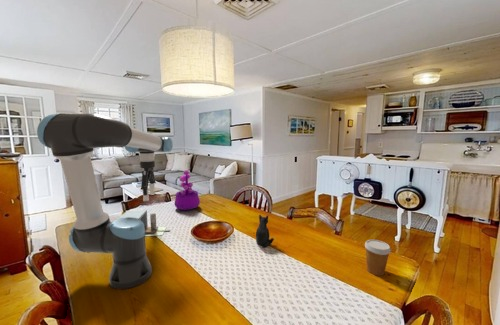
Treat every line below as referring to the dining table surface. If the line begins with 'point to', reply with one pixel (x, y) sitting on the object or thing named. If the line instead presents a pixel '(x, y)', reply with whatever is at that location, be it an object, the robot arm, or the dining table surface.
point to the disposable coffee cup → (377, 256)
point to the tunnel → (140, 217)
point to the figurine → (263, 232)
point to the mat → (157, 232)
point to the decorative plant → (186, 194)
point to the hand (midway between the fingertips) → (149, 197)
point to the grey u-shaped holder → (153, 224)
